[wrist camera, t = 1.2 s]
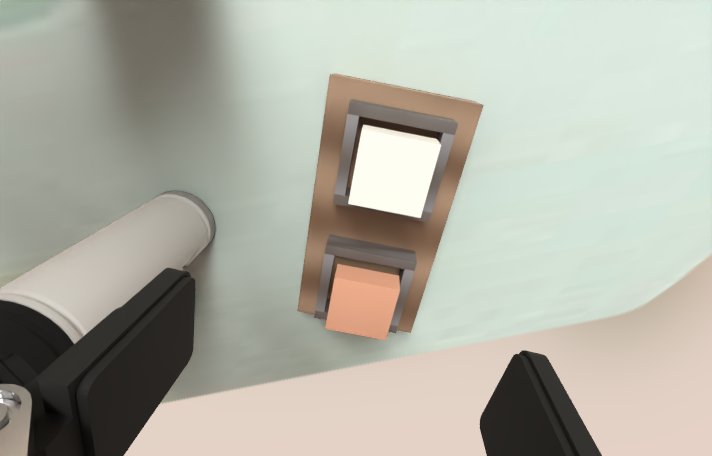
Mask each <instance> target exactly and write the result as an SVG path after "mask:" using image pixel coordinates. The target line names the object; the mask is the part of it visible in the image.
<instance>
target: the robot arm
mask: <svg viewBox="0 0 712 456" xmlns="http://www.w3.org/2000/svg"><path fill="white" fill-rule="evenodd" d="M194 306H195V280H194V279H193V278H190V274H189V273H188V272H186V271H182V270H177V269H173V268H166V269H164V270H163V271H162V272H161V273H160V274H158V275H157V276H156V277H155V278H154V279H153V280H152V281H150V282H149V283H148V284H147V285H146V286H145V287H143V288H142V289H141V290H140V291H139V292H138V293H137V294H135V295H134V296H133V297H132V298H131V299H130V300H129V301H127V302H126V303H125V304H124V305H123V306H122V307H119V308H117V309H115V310H114V311H112V312H111V313H110V314H109V315H108V316H106V317H105V318H104V319H103V320H102V321H101V322H99V323H98V324H97V325H96V326H95V327H94V328H93V329H91V330H90V331H89V332H88V333H87V334H86V335H84V336H83V337H82V338H81V339H80V340H79V341H77V342H76V343H75V344H74V345H73V346H72V347H70V348H69V349H68V350H67V351H66V352H65V353H63V354H62V355H61V356H60V357H59V358H58V359H56V360H55V361H54V362H53V363H52V364H51V365H50V366H48V367H47V368H46V369H45V370H44V371H43V372H41V373H40V374H39V375H38V376H37V377H36V378H34V379H33V380H32V381H31V382H30V383H29V384H27V385H26V386H25V387H21V386H18V385H15V384H0V456H123V455H124V454H125V453H126V451H127V450H128V448H129V447H130V445H131V444H132V443H133V441H134V440H135V438H136V437H137V435H138V434H139V433H140V431H141V430H142V428H143V427H144V425H145V424H146V422H147V421H148V420H149V418H150V417H151V415H152V414H153V412H154V411H155V409H156V408H157V407H158V405H159V404H160V402H161V401H162V399H163V398H164V397H165V395H166V394H167V392H168V391H169V389H170V388H171V386H172V385H173V384H174V382H175V381H176V379H177V378H178V376H179V375H180V374H181V372H182V371H183V369H184V368H185V366H186V365H187V363H188V362H189V360H190V358H191V355H192V352H193V337H194ZM480 430H481V434H482V438H483V442H484V446H485V450H486V454H487V456H602V455H601V453H600V452H599V450H598V448H597V446H596V444H595V442H594V441H593V439H592V437H591V435H590V434H589V432H588V430H587V428H586V426H585V425H584V423H583V421H582V419H581V417H580V416H579V414H578V412H577V410H576V408H575V407H574V405H573V403H572V401H571V399H570V398H569V396H568V394H567V392H566V390H565V389H564V387H563V385H562V384H561V382H560V380H559V378H558V376H557V374H556V372H555V371H554V369H553V367H552V365H551V363H550V362H549V360H548V359H547V357H546V356H545V355H542V354H538V353H533V352H529V351H521V352H520V353H519V354H515V355H514V356H513V357H512V359H511V361H510V363H509V365H508V367H507V368H506V370H505V372H504V374H503V376H502V378H501V380H500V382H499V383H498V385H497V387H496V389H495V391H494V393H493V395H492V397H491V398H490V400H489V402H488V404H487V406H486V408H485V410H484V412H483V413H482V415H481V419H480Z"/></svg>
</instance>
